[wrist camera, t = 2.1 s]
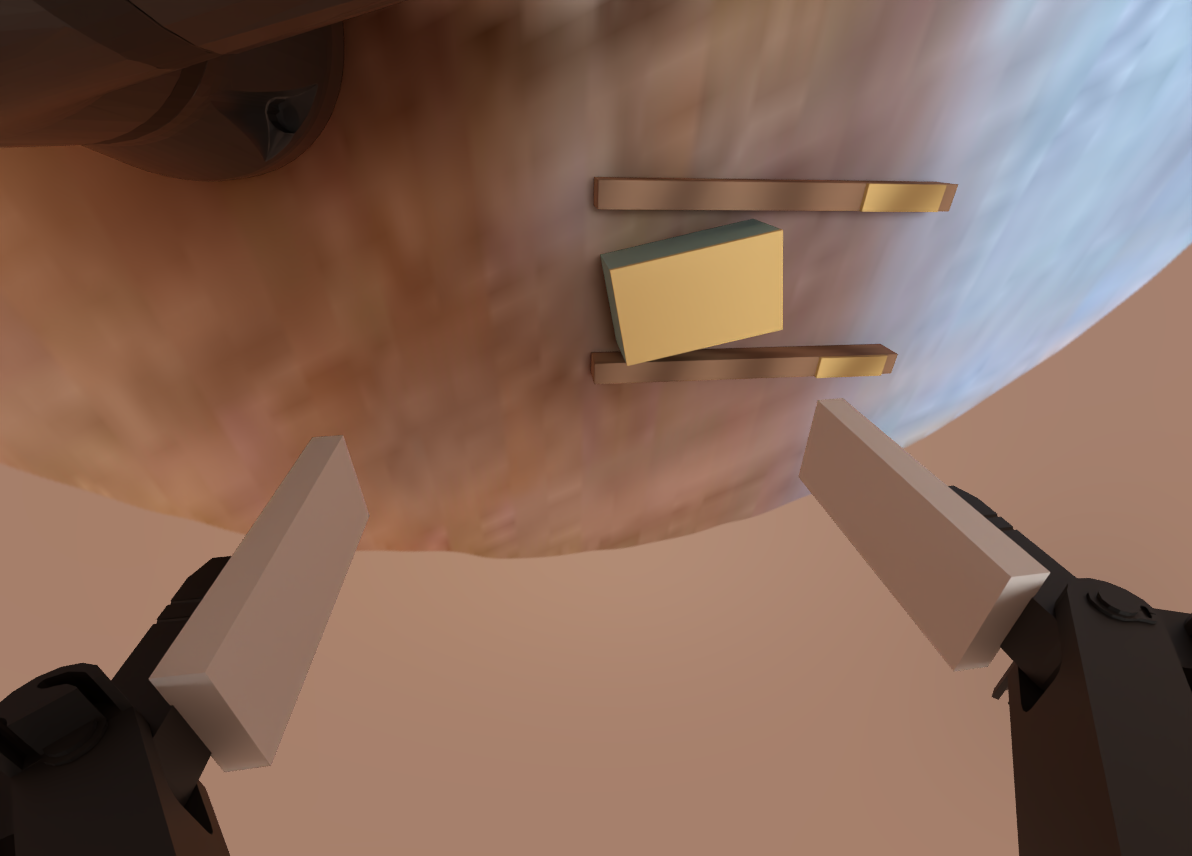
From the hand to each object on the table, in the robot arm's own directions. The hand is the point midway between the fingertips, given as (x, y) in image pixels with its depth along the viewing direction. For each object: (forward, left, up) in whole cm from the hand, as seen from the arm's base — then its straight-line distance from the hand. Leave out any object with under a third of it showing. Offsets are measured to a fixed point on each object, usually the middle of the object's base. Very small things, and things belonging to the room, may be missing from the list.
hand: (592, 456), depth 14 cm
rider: (+9, -1, -21) cm, 23 cm away
